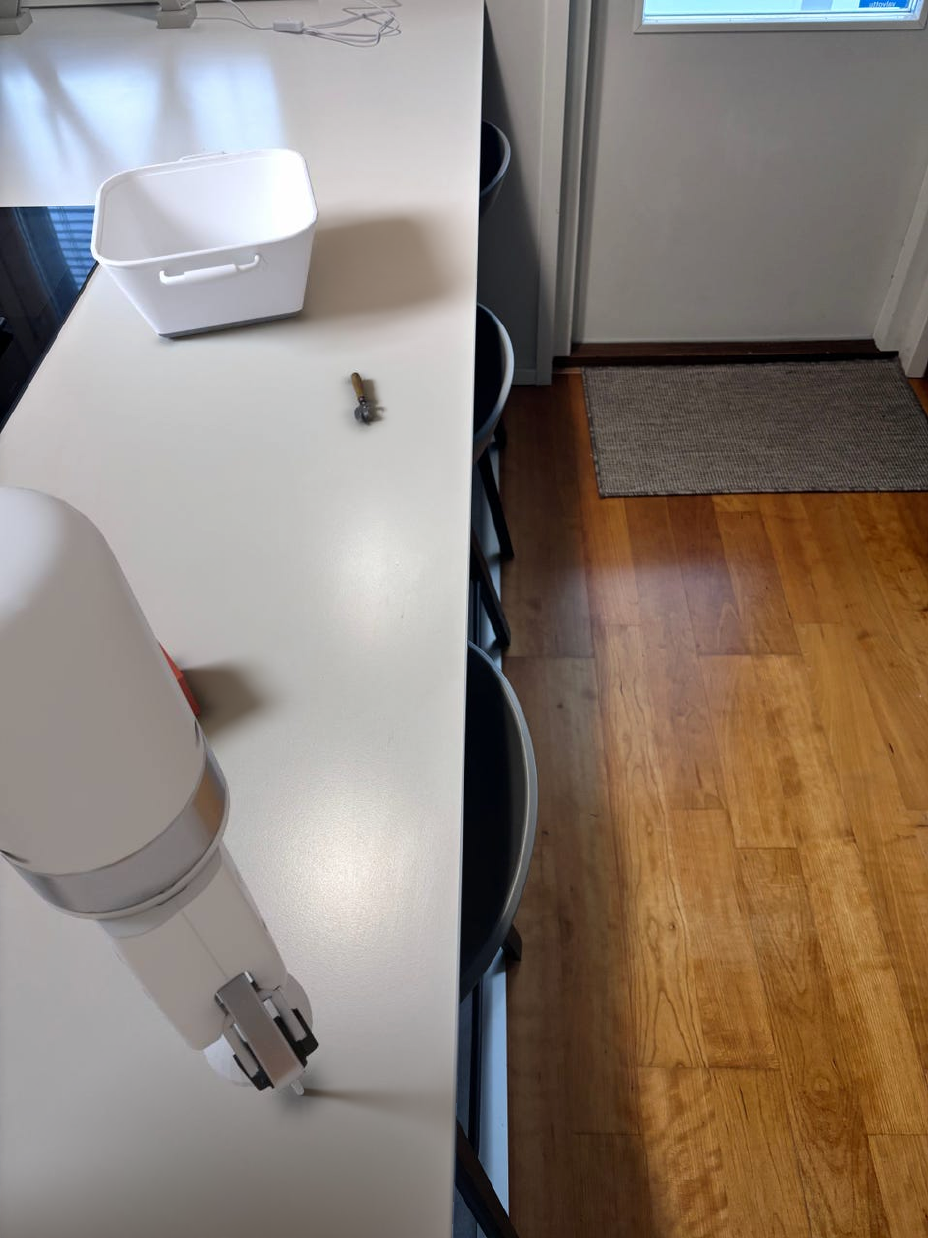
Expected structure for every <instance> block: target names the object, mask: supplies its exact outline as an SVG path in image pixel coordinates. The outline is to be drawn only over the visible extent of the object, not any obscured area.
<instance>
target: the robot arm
mask: <svg viewBox="0 0 928 1238" xmlns="http://www.w3.org/2000/svg"><path fill="white" fill-rule="evenodd" d="M157 640H158V639H157V637H156V635H155V632H154V631H153V629H152V628H151V625H150V623H149V621H148V619H147V617H146V615H145V613H144V611H143V610H142V607H141V605H140V602H139V601H138V599H137V597H136V595H135V593H134V591H133V589H132V587H131V585H130V583H129V581H128V579H127V577H126V574H125V573H124V571H123V569H122V567H121V565H120V562H119V561H118V558H117V557H116V554H115V553H114V552H113V549H112V548H111V546H110V544H109V543H108V541H107V539H106V538H105V536H104V535H103V533H102V531H100V528H99V527H98V526H96V524H95V523H94V522H93V521H92V520H91V519H90V518H89V517H88V516H87V515H86V514H84V513H83V512H82V511H80V510H79V509H77V508H76V507H74V505H72V504H71V503H69V502H67V501H66V500H65V499H62V498H60V497H57V496H55V495H52V494H50V493H46V492H43V491H41V490H37V489H32V488H27V487H19V486H0V855H1V857H2V858H3V859H4V860H5V861H6V862H7V863H8V864H9V865H10V866H11V867H12V868H13V869H14V871H15V872H16V873H17V874H18V875H19V876H20V877H21V878H22V879H23V880H24V881H25V882H26V883H27V884H28V886H30V888H31V889H32V890H33V892H35V893H36V895H37V896H38V897H39V898H40V899H41V900H43V901H44V902H45V903H46V904H47V905H48V906H49V907H51V908H53V909H54V910H56V911H57V912H60V913H62V914H64V915H67V916H70V917H73V918H77V919H84V920H93V922H94V924H95V926H96V927H97V929H98V930H99V931H100V933H101V934H102V935H103V938H104V939H105V940H106V942H107V943H108V944H109V947H111V949H112V950H113V952H114V953H115V954H116V956H117V957H118V960H120V961H121V963H122V964H123V965H124V967H125V968H126V970H127V971H128V973H130V975H131V977H132V978H133V979H134V980H135V982H136V983H137V984H138V986H139V987H140V988H141V990H142V991H143V992H144V994H145V995H146V996H147V998H149V1000H150V1001H151V1003H152V1004H153V1005H154V1006H155V1008H156V1009H157V1010H158V1011H159V1013H160V1014H161V1016H162V1017H163V1018H164V1020H166V1021H167V1023H168V1024H169V1025H170V1027H171V1028H172V1029H173V1031H174V1032H175V1034H176V1035H177V1036H178V1037H179V1039H180V1040H181V1041H182V1043H183V1044H184V1045H185V1047H186V1048H188V1049H190V1050H193V1051H199V1052H200V1051H201V1052H203V1050H204V1049H205V1048H207V1047H209V1046H210V1045H212V1044H213V1043H215V1042H216V1041H218V1040H219V1039H220V1038H221V1036H222V1034H223V1035H224V1037H225V1038H226V1040H227V1041H228V1043H229V1045H230V1046H231V1048H232V1049H233V1051H234V1052H235V1054H234V1055H233V1058H234V1060H235V1061H236V1063H237V1065H238V1066H239V1067H240V1069H241V1070H242V1071H243V1072H244V1073H245V1075H246V1076H247V1077H248V1078H249V1079H250V1081H251V1082H252V1083H253V1084H254V1085H255V1088H256V1089H257V1090H258V1091H264V1090H266V1089H268V1088H271V1089H272V1090H273V1089H275V1090H276V1091H277V1093H281V1092H282V1091H284V1090H285V1089H286V1088H288V1087H289V1086H290V1085H291V1083H292V1082H294V1081H295V1080H296V1079H299V1078H300V1077H301V1076H303V1075H304V1074H306V1070H305V1068H306V1067H307V1066H308V1064H309V1063H308V1060H307V1058H308V1057H309V1056H310V1055H312V1054H313V1053H314V1052H315V1051H317V1049H318V1047H319V1045H320V1044H319V1043H320V1042H319V1041H318V1040H317V1038H316V1037H315V1035H314V1033H313V1031H312V1032H311V1030H310V1028H309V1027H308V1025H307V1023H306V1021H305V1020H304V1018H303V1016H302V1015H301V1013H300V1012H299V1010H298V1009H297V1008H296V1009H291V1008H290V1007H289V1005H288V1004H287V1002H286V1000H285V999H284V997H283V996H282V994H281V992H280V991H279V989H278V988H279V987H280V988H281V990H282V991H283V990H284V988H285V985H286V982H287V974H288V973H289V972H288V970H287V967H286V965H285V962H284V960H283V957H282V956H281V954H280V951H279V949H278V947H277V944H276V942H275V940H274V937H272V933H271V932H270V930H269V928H268V925H267V924H266V921H265V920H264V917H263V915H262V914H261V911H260V909H259V907H258V905H257V903H256V901H255V899H254V897H253V895H252V893H251V891H250V889H249V887H248V886H247V883H246V882H245V880H244V878H243V875H242V874H241V871H240V869H239V868H238V865H236V863H235V860H234V859H233V857H232V855H231V853H230V851H229V849H228V848H227V846H226V843H225V842H224V839H223V837H224V835H225V832H226V828H227V825H228V822H229V819H230V818H229V816H230V810H231V796H230V795H231V794H230V789H229V784H228V781H227V778H226V776H225V773H224V772H223V770H222V768H221V765H220V764H219V761H218V759H217V757H216V755H215V753H214V751H213V750H212V749H213V748H212V747H211V745H210V743H209V741H208V739H207V737H206V736H205V735H206V734H205V733H204V731H203V729H202V727H201V725H200V723H199V722H198V719H197V716H195V715H194V713H193V711H192V709H191V707H190V705H189V703H188V701H187V699H186V697H185V695H184V693H183V691H182V689H181V687H180V685H179V683H178V681H177V679H176V677H175V675H174V673H173V671H172V669H171V667H170V665H169V663H168V661H167V659H166V657H165V655H164V653H163V651H162V649H161V647H160V645H159V643H160V642H159V640H158V641H157ZM158 642H159V643H158ZM244 972H248V974H249V975H250V977H251V978H252V980H253V981H252V982H250V981H249V980H248V978H247V976H246V975H245V973H244ZM217 994H218V995H217ZM219 997H220V998H219ZM220 999H221V1000H220ZM267 999H270V1001H271V1002H272V1004H273V1006H274V1007H275V1009H276V1010H277V1012H278V1013H279V1015H280V1017H279V1015H278V1016H276V1017H275V1018H274V1019H273V1018H272V1017H271V1015H270V1013H269V1012H268V1010H267V1009H266V1007H265V1005H264V1004H263V1002H265V1001H266V1000H267ZM221 1001H222V1002H223V1003H222V1002H221ZM235 1023H236V1025H237V1027H238V1028H239V1030H240V1032H241V1033H242V1035H243V1036H244V1038H245V1040H246V1042H245V1040H244V1039H243V1037H242V1036H241V1034H240V1032H239V1031H238V1029H237V1028H236V1026H235V1025H234V1024H235Z"/></svg>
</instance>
